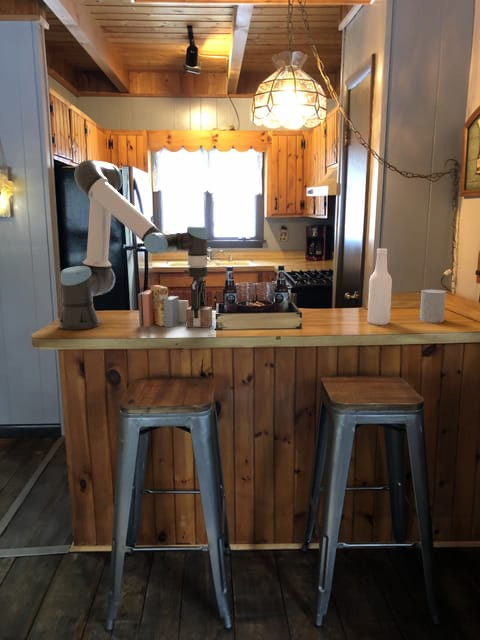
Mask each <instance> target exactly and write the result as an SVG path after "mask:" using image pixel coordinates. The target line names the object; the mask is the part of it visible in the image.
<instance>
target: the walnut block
mask: <svg viewBox="0 0 480 640" xmlns="http://www.w3.org/2000/svg"><path fill="white" fill-rule="evenodd" d="M199 310H200V325H201V326H193V310H191V305H189V306H188V308H187V309H186V322H185V323H186V327H189V328H191V327H193V328H209V327H211V326H212V325H213V306H204V307H200V306H199Z"/></svg>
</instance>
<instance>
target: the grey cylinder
mask: <svg viewBox="0 0 480 640" xmlns="http://www.w3.org/2000/svg"><path fill="white" fill-rule="evenodd" d="M446 296H447V291H446V290H443V289H433V288H429V289H428V288H426V289H421V293H420V309H419V310H420V311H419V319H418V320H419V321H421V322H426V323H434V324H435V323H436V324H437V323H443V322H444V321H445V311H446V310H445V307H446Z"/></svg>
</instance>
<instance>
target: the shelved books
mask: <svg viewBox="0 0 480 640" xmlns="http://www.w3.org/2000/svg"><path fill="white" fill-rule="evenodd" d="M179 300H180V299H179V296H178V295H177V296H175V295H170V296H168V299H164V321H165V325H164V328H165V327H166V328H174V327H175V326H177V325H178V324H179V323H180V322H179ZM142 301H143V323H144V325H143V327H151V326H152V325H154V324H155V323H154V316H153V296H152V292H151V291H148V292H146V293H143V294H142Z"/></svg>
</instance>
